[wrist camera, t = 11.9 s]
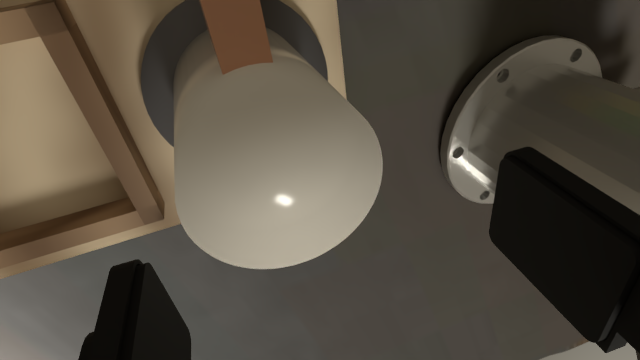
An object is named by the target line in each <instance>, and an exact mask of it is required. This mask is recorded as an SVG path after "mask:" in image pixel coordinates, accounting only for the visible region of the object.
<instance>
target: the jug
mask: <svg viewBox="0 0 640 360" xmlns="http://www.w3.org/2000/svg"><path fill="white" fill-rule="evenodd" d="M199 3H200V6H201V9H202V13H203V16H204V19H205V23H206V26H207V29H208V30H206V31H204V32H203V33H201V34H200V35H198V36H197V37H196V38H195V39H194V40H193V41H191V43H190V44H189V45H188V46H187V47H186V48H185V50H184V52H183V53H182V55H181V56H180V59H179V61H178V63H177V66H176V70H175V73H174V81H173V91H174V183H175V204H176V209H177V214H178V216H179V219H180V222H181V224H182V226H183V228H184V229H185V231H186V233H187V234H188V236H189V237H190V238H191V239H192V240H193V242H194V243H195V244H196V245H198V246H199V247H200V248H201V249H202V250H203V251H205V252H206V253H208V254H209V255H211V256H212V257H214V258H216V259H218V260H221V261H223V262H225V263H228V264H231V265H234V266H239V267H244V268H252V269H273V268H282V267H287V266H292V265H296V264H299V263H302V262H305V261H308V260H310V259H313V258H315V257H317V256H319V255H321V254H323V253H325V252H327V251H328V250H330V249H332V248H333V247H335V246H336V245H338V244H339V243H340V242H342V241H343V240H344V239H345V238H347V237H348V236H349V235H350V234H351V233H352V232H353V231H354V230H355V229H356V228H357V227H358V225H359V224H360V223H361V222H362V221H363V219H364V218H365V217H366V215H367V214H368V212H369V210H370V209H371V207H372V205H373V203H374V201H375V199H376V196H377V194H378V191H379V187H380V184H381V178H382V169H383V160H382V153H381V148H380V145H379V141H378V139H377V137H376V134H375V132H374V130H373V129H372V127H371V126H370V124H369V123H368V121H367V120H366V119H365V118H364V117H363V116H362V115H361V114H360V113H359V112H358V111H357V110H356V109H355V108H354V107H353V106H352V105H351V104H350V103H349V102H348V101H347V100H346V99H345V98H344V97H343V96H342V95H341V94H340V93H339V92H338V91H337V90H336V89H335V88H334V87H333V86H332V85H331V84H330V83H329V82H328V81H327V80H326V79H325V78H324V77H323V76H322V75H321V74H320V73H319V72H318V71H317V70H315V69H314V68H313V67H312V66H311V65H310V64H309V63H308V62H307V61H306V60H305V59H304V58H303V57H302V56H301V55H300V54H299V53H298V52H297V51H296V50H295V49H294V48H293V47H292V46H291V45H290V44H289V43H288V42H287V41H286V40H285V39H284V38H282V37H281V36H280V35H279V34H277V33H276V32H274V31H272V30H271V29H269V28H266V27H265V22H264V18H263V13H262V8H261V4H260V0H199Z"/></svg>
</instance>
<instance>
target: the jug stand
mask: <svg viewBox="0 0 640 360" xmlns="http://www.w3.org/2000/svg"><path fill="white" fill-rule="evenodd" d="M260 4H261V8H262V13H263V18H264V22H265V27H266V28H269V29H271V30H272V31H274V32H276V33H277V34H279V35H280V36H281V37H282V38H284V39H285V40H286V41H287V42H288V43H289V44H290V45H291V46H292V47H293V48H294V49H295V50H296V51H297V52H298V53H299V54H300V55H301V56H302V57H303V58H304V59H305V60H306V61H307V62H308V63H309V64H310V65H311V66H312V67H313V68H314V69H315V70H317V71H318V72H319V73H320V74H321V75H322V76H323V77H324V78H325V79H326V80H327V81H328V82H329V83H330V84H331V85H332V86H333V87H334V88H335V89H336V90H337V91H338V92H339V93H340V94H341V95H342V96H343V97H344V98H345V99H346V90H345V80H344V70H343V60H342V50H341V41H340V31H339V21H338V11H337V2H336V0H260ZM206 30H208V29H207V26H206V23H205V19H204V16H203V13H202V9H201V6H200V3H199V0H0V279H2V278H5V277H8V276H12V275H15V274H18V273H21V272H25V271H28V270H31V269H35V268H38V267H41V266H44V265H48V264H51V263H54V262H57V261H61V260H64V259H67V258H70V257H74V256H77V255H80V254H83V253H87V252H90V251H93V250H96V249H100V248H103V247H106V246H110V245H113V244H116V243H119V242H123V241H126V240H129V239H132V238H136V237H139V236H142V235H145V234H149V233H152V232H155V231H158V230H162V229H165V228H168V227H172V226H175V225H178V224H181V222H180V219H179V216H178V214H177V209H176V204H175V183H174V91H173V81H174V73H175V70H176V66H177V63H178V61H179V59H180V56H181V55H182V53H183V52H184V50H185V48H186V47H187V46H188V45H189V44H190V43H191V41H193V40H194V39H195V38H196V37H197V36H198V35H200V34H201V33H203V32H204V31H206ZM346 100H347V99H346Z"/></svg>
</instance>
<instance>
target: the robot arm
mask: <svg viewBox="0 0 640 360" xmlns="http://www.w3.org/2000/svg"><path fill="white" fill-rule="evenodd" d="M440 156H441V167H442V170H443V172H444V175H445V178H446V179H447V181H448V182H449V184H450V185H451V186H452V187H453V188H454V189H455V190H456V191H457V192H458V193H459V194H460V195H461V196H463V197H465V198H467V199H468V200H470V201H473V202H477V203H493V209H492V216H491V222H490V228H489V235H490V238H491V240H492V242H493V243H494V244H495V246H496V247H497V248H498V249H499V250H500V251H501V252H502V253H503V254H504V255H505V256H506V257H507V258H508V259H509V260H510V261H511V262H512V263H513V264H514V265H515V266H516V267H517V268H518V269H519V270H520V271H521V272H522V273H523V274H524V275H525V277H526V278H527V279H528V280H529V281H530V282H531V283H532V284H533V285H534V286H535V287H536V288H537V289H538V290H539V291H540V292H541V293H542V294H543V295H544V296H545V297H546V298H547V299H548V300H549V301H550V302H551V303H552V304H553V305H554V306H555V308H556V309H557V310H558V311H559V312H560V313H561V314H562V315H563V316H564V317H565V318H566V319H567V320H568V321H569V322H570V323H571V324H572V325H573V326H574V327H575V328H576V329H577V330H578V331H579V332H580V333H581V334H582V335H583V336H584V337H585V338H586V339H587V340H589V341H590V342H594V343H596V344H597V345H598V346H599V347H600V348H601V349H602V350H603V351H604V352H605V353H608V352H610V351H613V350H615V349H618V348H620V347H623V346H625V345H626V343H627V342H628V343H629V344H630V345H631V346H632V347H633V348H634V349H635V350H636V353H637V359H638V360H640V87H638V88H634V89H632V88H629V87H626V86H624V85H621V84H618V83H615V82H612V81H609V80H606V79H603V78H602V72H601V68H600V63H599V61H598V59H597V57H596V55H595V53H594V52H593V51H592V50H591V49H590V48H589V47H588V46H587V45H586V44H583V43H581V42H579V41H577V40H574V39H570V38H566V37H562V36H558V35H550V36H539V37H536V38H532V39H528V40H525V41H523V42H521V43H519V44H517V45H515V46H512V47H510V48H509V49H507V50H506V51H504V52H503V53H501V54H500V55H498V56H497V57H496V58H494V59H493V60H492V61H491V62H490V63H488V64H487V65H486V66H485V67H484V68H483V69H482V70H481V71H480V72H479V73H478V74H477V75H476V76H475V77H474V78H473V80H472V81H471V82H470V83H469V84H468V86H467V87H466V88H465V89H464V91H463V92H462V94H461V96H460V97H459V99H458V100H457V102H456V103H455V105H454V107H453V109H452V111H451V114H450V116H449V118H448V120H447V122H446V126H445V129H444V133H443V136H442V142H441V151H440ZM78 360H191V337H190V333H189V330H188V328H187V326H186V324H185V322H184V321H183V319H182V317H181V315H180V314H179V312H178V310H177V308H176V307H175V305H174V303H173V302H172V300H171V298H170V296H169V295H168V293H167V291H166V289H165V288H164V286H163V284H162V283H161V281H160V279H159V277H158V276H157V274H156V272H155V270H154V269H153V267H152V266H151V264H150V263H145V264H143V263H142V262H141V261H140V260H133V261H130V262H126V263H123V264H119V265H116V266H113V267H112V268H111V269H110V271H109V275H108V279H107V283H106V287H105V291H104V295H103V299H102V303H101V307H100V311H99V315H98V319H97V323H96V326H95V330H94V332H92V333H89V334H88V335H87V337H86V338H85V340H84V342H83V345H82V348H81V352H80V356H79V359H78Z"/></svg>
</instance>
